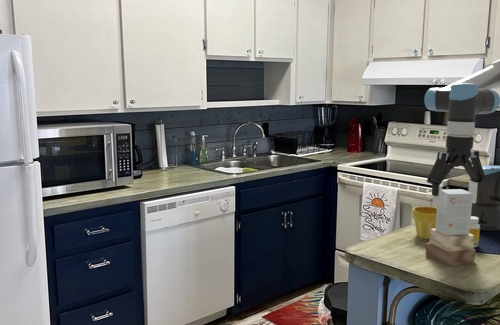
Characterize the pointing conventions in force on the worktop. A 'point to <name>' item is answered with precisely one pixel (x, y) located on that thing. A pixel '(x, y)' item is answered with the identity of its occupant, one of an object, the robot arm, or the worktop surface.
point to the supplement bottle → (475, 229)
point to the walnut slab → (450, 255)
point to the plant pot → (424, 220)
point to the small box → (454, 212)
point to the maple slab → (451, 241)
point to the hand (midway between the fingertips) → (454, 204)
